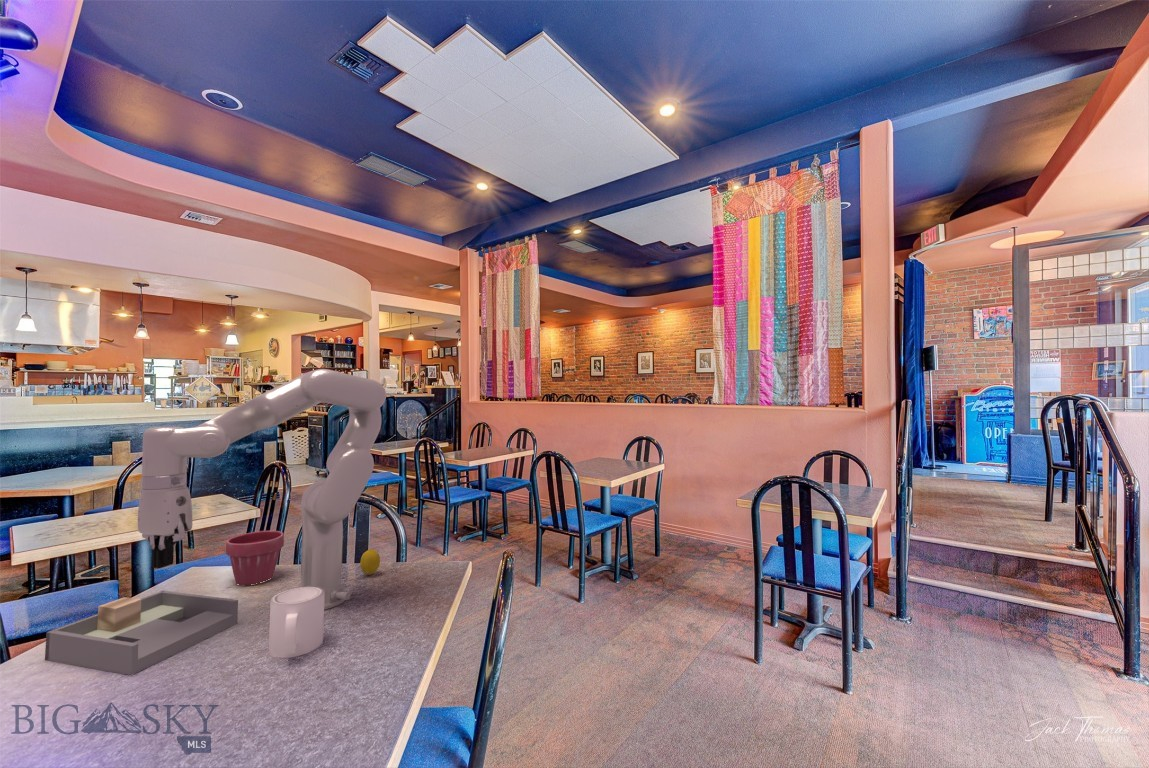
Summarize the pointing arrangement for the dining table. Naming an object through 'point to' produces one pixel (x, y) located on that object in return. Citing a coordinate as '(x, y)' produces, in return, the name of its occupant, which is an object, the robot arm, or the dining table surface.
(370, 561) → the lemon
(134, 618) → the maple block
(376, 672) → the dining table surface
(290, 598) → the mug
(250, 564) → the plant pot
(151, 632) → the box
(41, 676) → the dining table surface
